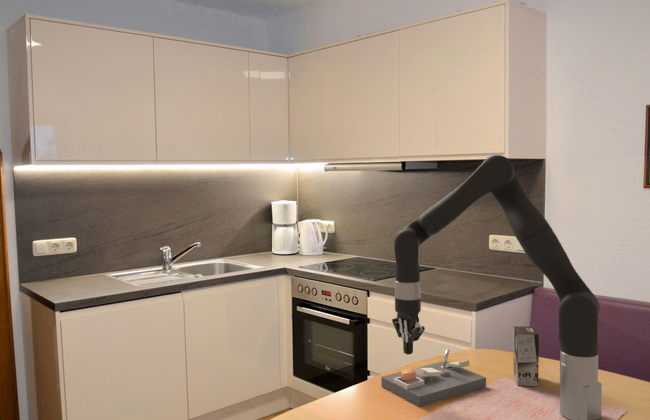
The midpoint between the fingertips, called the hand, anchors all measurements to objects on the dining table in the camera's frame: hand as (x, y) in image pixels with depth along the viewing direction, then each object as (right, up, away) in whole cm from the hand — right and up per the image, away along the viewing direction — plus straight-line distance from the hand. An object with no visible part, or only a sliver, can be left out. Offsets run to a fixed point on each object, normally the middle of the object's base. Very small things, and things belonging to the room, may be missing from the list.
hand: (408, 353), depth 164 cm
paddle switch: (+18, -7, +10) cm, 21 cm away
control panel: (+9, -12, +5) cm, 15 cm away
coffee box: (+38, -11, +8) cm, 40 cm away
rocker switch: (+6, -7, +4) cm, 10 cm away
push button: (0, -7, 0) cm, 7 cm away
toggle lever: (+12, -6, +7) cm, 15 cm away
